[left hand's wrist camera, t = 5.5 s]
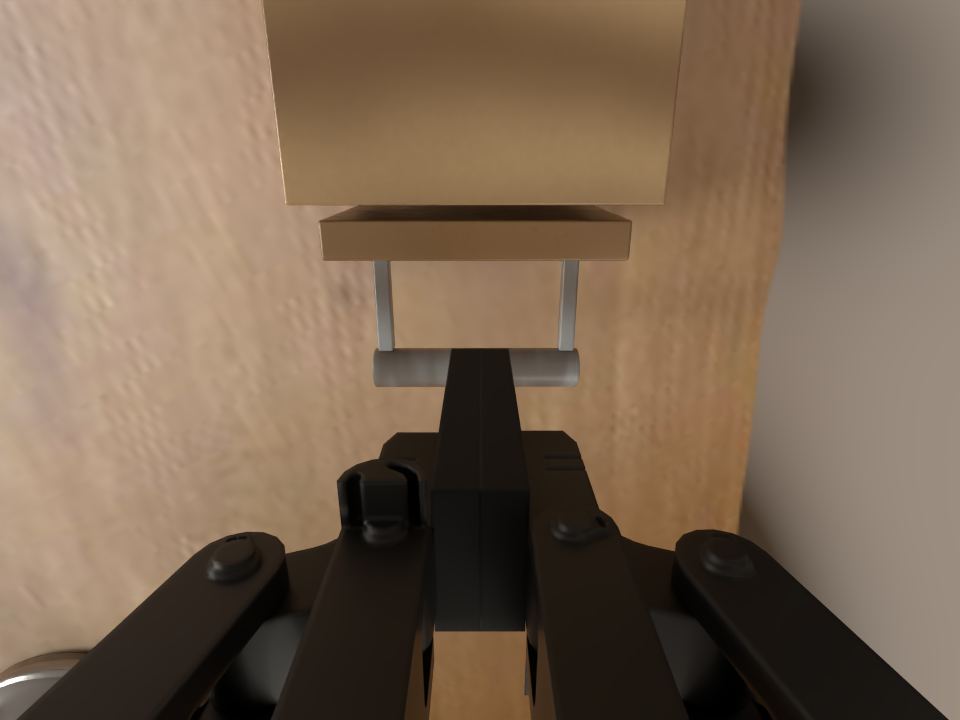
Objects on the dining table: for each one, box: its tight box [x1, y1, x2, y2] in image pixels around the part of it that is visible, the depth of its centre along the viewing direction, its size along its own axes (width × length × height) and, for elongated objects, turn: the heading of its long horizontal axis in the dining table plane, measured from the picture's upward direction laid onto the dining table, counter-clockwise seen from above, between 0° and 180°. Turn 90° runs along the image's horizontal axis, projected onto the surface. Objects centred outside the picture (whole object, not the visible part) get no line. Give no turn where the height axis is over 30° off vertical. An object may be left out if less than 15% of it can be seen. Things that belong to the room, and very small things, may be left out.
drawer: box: [319, 205, 632, 387], centre depth 19 cm, size 22×9×8 cm, turn 0°
